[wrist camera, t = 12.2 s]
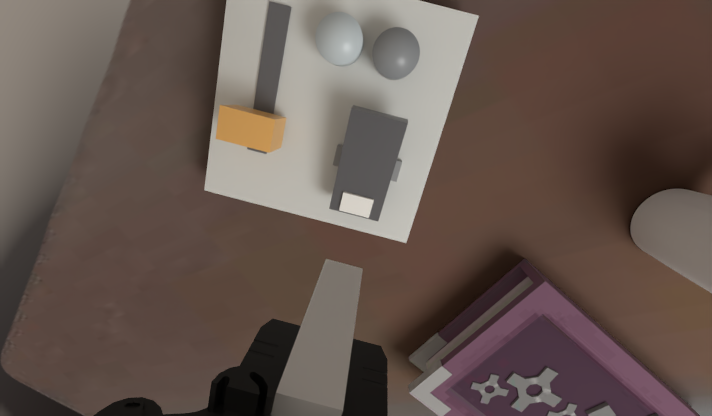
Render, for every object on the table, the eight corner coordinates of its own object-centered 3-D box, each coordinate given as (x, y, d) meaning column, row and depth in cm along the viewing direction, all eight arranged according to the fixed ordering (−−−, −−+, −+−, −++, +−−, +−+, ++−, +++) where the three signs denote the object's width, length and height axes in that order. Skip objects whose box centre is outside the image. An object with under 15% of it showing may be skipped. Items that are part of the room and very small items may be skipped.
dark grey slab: (353, 105, 25) (350, 108, 24) (407, 119, 25) (408, 123, 24) (331, 202, 28) (328, 210, 27) (379, 214, 28) (377, 222, 27)
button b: (325, 13, 25) (320, 6, 23) (368, 24, 25) (367, 18, 23) (316, 60, 26) (311, 57, 24) (357, 71, 26) (356, 69, 24)
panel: (248, -34, 27) (225, -56, 23) (468, 24, 27) (483, 11, 24) (220, 182, 33) (197, 193, 29) (404, 230, 33) (407, 248, 29)
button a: (379, 27, 25) (379, 21, 23) (422, 39, 25) (425, 33, 23) (368, 74, 26) (367, 71, 24) (409, 85, 26) (411, 83, 24)
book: (405, 356, 38) (409, 393, 33) (521, 255, 33) (545, 280, 28) (564, 480, 41) (588, 530, 36) (688, 404, 37) (733, 449, 32)
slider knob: (236, 104, 27) (219, 105, 24) (286, 117, 27) (275, 119, 24) (232, 134, 28) (215, 138, 25) (281, 147, 28) (269, 152, 25)
